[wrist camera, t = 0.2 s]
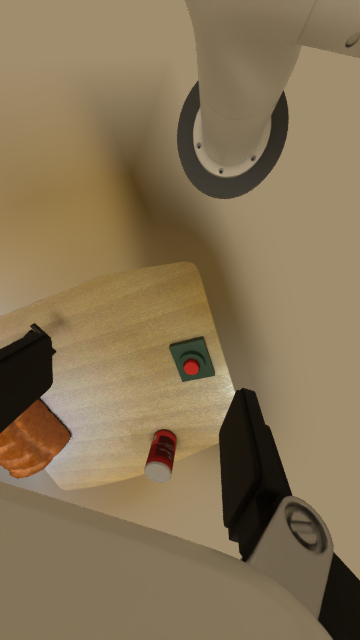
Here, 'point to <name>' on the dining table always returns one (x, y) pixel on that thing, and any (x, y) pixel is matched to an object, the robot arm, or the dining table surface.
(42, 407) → the bread
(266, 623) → the robot arm
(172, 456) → the canned food
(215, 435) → the dining table surface
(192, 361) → the button
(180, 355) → the button box
